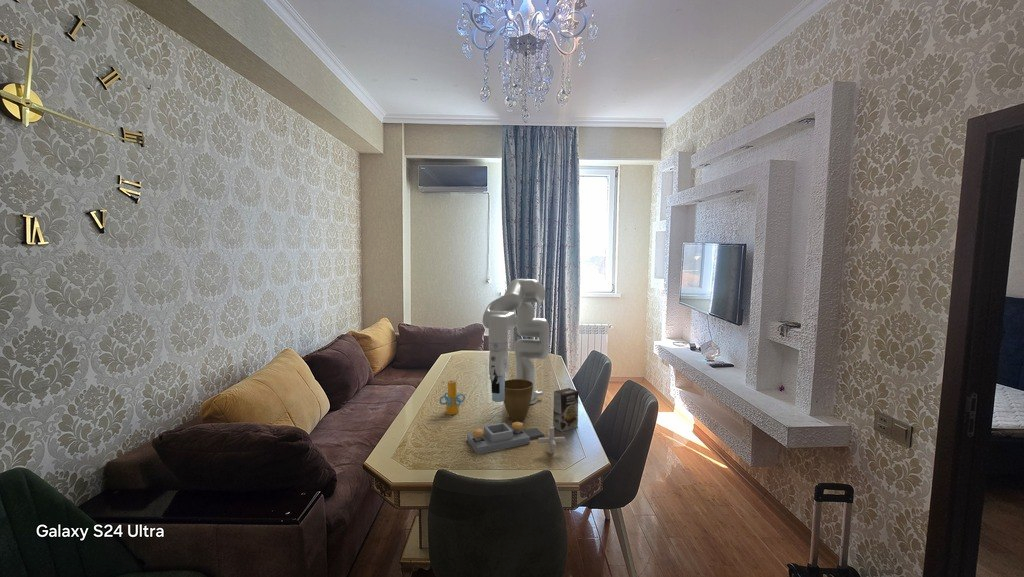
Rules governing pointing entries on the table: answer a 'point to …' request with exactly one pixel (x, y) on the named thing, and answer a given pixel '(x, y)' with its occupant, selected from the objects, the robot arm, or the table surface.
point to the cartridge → (501, 395)
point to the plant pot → (517, 398)
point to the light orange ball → (517, 427)
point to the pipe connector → (551, 440)
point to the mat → (534, 433)
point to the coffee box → (565, 409)
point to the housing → (498, 438)
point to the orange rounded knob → (478, 435)
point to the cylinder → (452, 399)
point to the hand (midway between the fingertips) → (498, 390)
